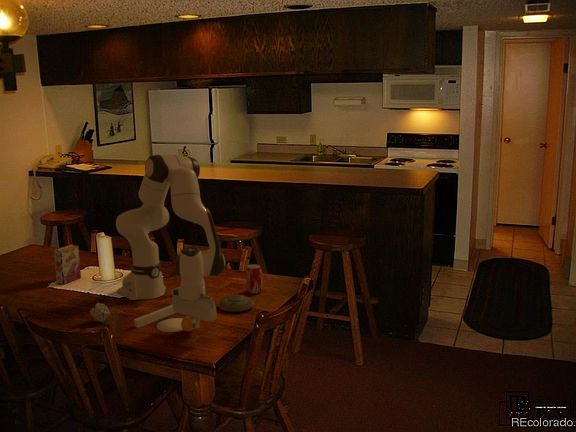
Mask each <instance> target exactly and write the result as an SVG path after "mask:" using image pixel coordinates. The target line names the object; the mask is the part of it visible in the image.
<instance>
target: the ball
mask: <svg viewBox="0 0 576 432" xmlns="http://www.w3.org/2000/svg"><path fill="white" fill-rule="evenodd" d="M181 327H182V329H183V330H182V331H184V332H192V331H193V330H195V328H193V327H192V326H191V322H190V320H189V316H187V315H186V316H185V317H183V319H182V321H181Z"/></svg>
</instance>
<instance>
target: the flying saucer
mask: <svg viewBox="0 0 576 432" xmlns="http://www.w3.org/2000/svg"><path fill="white" fill-rule="evenodd" d="M254 306H255V301H254V300H253V299H252V298H250V297H249V296H246V295H242V294H231V295H227V296H226V297H224V298H223V299H221V300H220V301H219V303H218V305H217V307H218V308H219V309H220V310H222V311H225V312H230V313H240V312H245V311H249V310H251V309H252V308H254Z"/></svg>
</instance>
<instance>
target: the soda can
mask: <svg viewBox="0 0 576 432" xmlns="http://www.w3.org/2000/svg"><path fill="white" fill-rule="evenodd" d="M246 267H247V268H246V271H245V279H246V283H245V284H246V292H248V293H249V294H253V295H257V294H258V295H259V294H260V293H261V292H262V291H263V269H262V267H261V265H260V264H256V263H252V264H248V265H247V266H246Z"/></svg>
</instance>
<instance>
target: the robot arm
mask: <svg viewBox="0 0 576 432" xmlns="http://www.w3.org/2000/svg"><path fill="white" fill-rule="evenodd" d="M200 173H201V166H200V164H199V162H198V160H197V159H196V158H194V157H191V156H182V155H177V154H176V155H175V154H172V155H171V154H170V155H169V154H165V155H163V154H153V155H150V156H148V158H147V159H146V161H145V165H144V176H143V178H142V181H141V185H140V186H139V190H138V198H139V199H140V201H141V202H142V205H141V207H138V208H134V209H130V210H126V211H125V212H124V211H123V212H122V213H121V214H119V215H118V216H117V217H116V220H115V227H116V230H117V232H118V234H120V235H121V236H123V237H124V238H125V239H126V240H127V241H128V243H129V245H130V248H131V255H132V263H131V264H129V267H130V272H129V273H128V274H127V275H125V276H124V277H123V278H122V281H121V283H122V286H121V287H118V289H117V290H116V292H117V293H119V294H120V295H121V296H123V297H125V298H126V299H128V300H130V301H136V300H152V299H156V298H159V297H161V296H163V295H164V294H165V293H166V289H167V287H166V285H165V283H164V277H163V272H162V271H161V267H162V265H161V262H160V256H159V255H160V253H159V246H158V244H157V242H155V241H152V240H151V239H150V237H149V233H150V232H153V231H157V230H159V229H161V228H163V227H165V226H167V224H168V223H169V220H170V213H169V210H168V209H167V207H165V201H166V197H167V194H168V192H169V188H170V202H171V207H172V211H173V213H174V214H175V215H176V216H178V217H179V218H180V219H182V220H185V221H187V222H192V223H195V224H197V225H199V226H201V227H202V228H203V229H204V232H205V236H206V240H207V243H208V247H209V248H208V249H206V250H201V248H199V247H196V246H188V247H184V248H182V249H181V250H180V252H179V254H178V255H177V256H176V258H175V259H174V262H175V268H176V271H175V274H176V275H177V276H178V277H179V278H180V280H181V281H180V286H176V287H175V288H172V289H171V294H172V298H171V301H172V304H171V305H173V309H174V311H175V312H177V314H181V315H183V316H186V317H187V316H189V320H190V322H191V326H192V327H193V328H194V329H199V328H200V323H201V321H203V322H204V321H205V322H208V323H211V322H213V321H216V319H217V318H218V316H217V315H218V314H217V308H216V303H215V300H214V298H213V297H212V296H211V295H207V293H206V281H205V279H204V277H207V276H209V277H219V276H220V275H221V274H222V273H223V272H224V271H225V270H226V259H225V256H224V254H223V252H222V249H221V245H220V240H219V237H218V233H217V229H216V226H215V222H214V219H213V216H212V213H211V211H210V209H209V208H207V207H205V205H204V204H203V202H202V199H201V191H200V185H199V180H198V178H199V176H200Z"/></svg>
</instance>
